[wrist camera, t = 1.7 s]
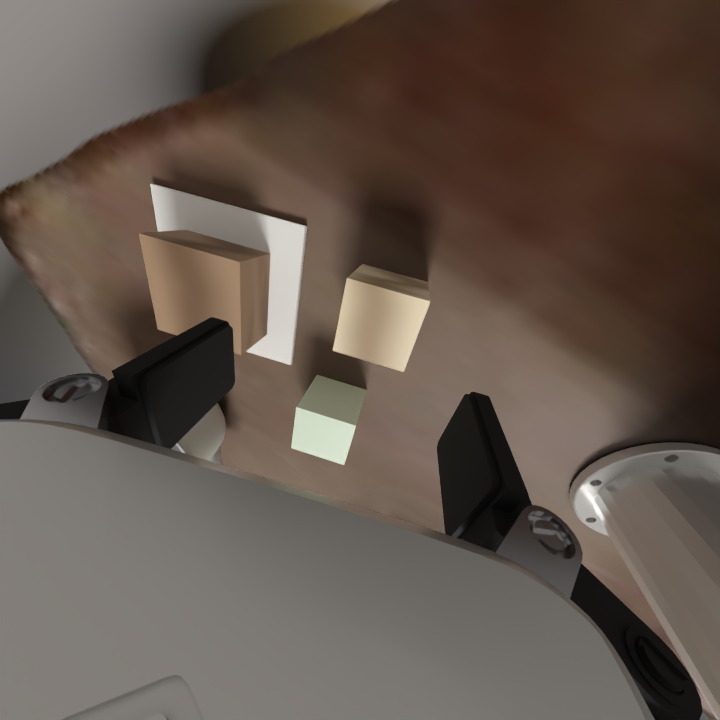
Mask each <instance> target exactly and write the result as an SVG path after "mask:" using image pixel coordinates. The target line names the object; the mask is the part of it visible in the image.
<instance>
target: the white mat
mask: <svg viewBox="0 0 720 720" xmlns="http://www.w3.org/2000/svg"><path fill="white" fill-rule="evenodd" d="M150 186H151V192H152V198H153V204H154V211H155V217H156V223H157V229H158V232H161V231H174V230H189V231H192V232H196V233H199V234H203V235H206V236H210V237H214V238H217V239H221V240H224V241H228V242H231V243H235V244H238V245H242V246H245V247H249V248H252V249H256V250H260V251H263V252H267V253H270V276H269V299H268V323H267V335H266V336H264V337H263V338H262V339H261V340H259V341H258V342H257V343H256V344H254V345H253V346H252V347H251V348H249V349H248V350H247V351H246V352H249V353H253V354H256V355H259V356H262V357H266V358H269V359H272V360H275V361H279V362H282V363H285V364H289V365H291V364H292V363H293V355H294V346H295V336H296V327H297V318H298V308H299V299H300V289H301V280H302V271H303V261H304V252H305V243H306V233H307V226H305V225H302V224H298V223H294V222H291V221H287V220H283V219H280V218H276V217H272V216H269V215H265V214H262V213H258V212H254V211H251V210H247V209H243V208H240V207H236V206H232V205H229V204H225V203H221V202H218V201H214V200H211V199H207V198H203V197H200V196H196V195H192V194H189V193H185V192H181V191H178V190H174V189H170V188H167V187H163V186H160V185H156V184H150Z"/></svg>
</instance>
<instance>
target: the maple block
mask: <svg viewBox="0 0 720 720" xmlns="http://www.w3.org/2000/svg"><path fill="white" fill-rule="evenodd" d="M429 304H430V295H429V287H428V282H426V281H422V280H419V279H415V278H412V277H408V276H404V275H401V274H397V273H394V272H390V271H387V270H383V269H379V268H376V267H372V266H369V265H365V264H362V265H361V266H360V267H358V268H357V269H356V270H355V271H354V272H353V273H352V274H351V275H350V276H349V277H347V280H346V285H345V290H344V295H343V301H342V306H341V311H340V316H339V321H338V326H337V331H336V336H335V341H334V346H333V351H335V352H339V353H342V354H345V355H349V356H352V357H355V358H359V359H362V360H365V361H369V362H372V363H375V364H379V365H382V366H385V367H389V368H392V369H395V370H399V371H402V372H404V370H405V367H406V365H407V362H408V359H409V357H410V354H411V351H412V349H413V346H414V343H415V341H416V338H417V336H418V333H419V330H420V328H421V325H422V322H423V320H424V317H425V314H426V312H427V309H428V307H429Z"/></svg>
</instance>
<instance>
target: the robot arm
mask: <svg viewBox="0 0 720 720" xmlns="http://www.w3.org/2000/svg"><path fill="white" fill-rule="evenodd" d="M112 372H113V375H114V378H112V379H111V380H109V381H108V380H107V379H106V378H105V377H104V376H102V375H99V374H94V373H78V374H72V375H66V376H63V377H59V378H56V379H54V380H51V381H49V382H47V383H45V384H44V385H42V386H41V387H39V388H38V389H37V390H36V391H35V393H34V394H33V396H32V398H31V399H29V400H23V401H16V402H10V403H4V404H0V720H709V719H708V718H707V717H706V716H705V714H704V713H703V712H702V705H701V699H700V696H699V694H698V692H697V689H696V687H695V684H694V682H693V681H692V679H691V677H690V675H689V674H688V672H687V670H686V669H685V667H684V666H683V664H682V663H681V662H680V660H679V659H678V658H677V657H676V655H675V654H674V653H673V651H672V650H671V649H670V648H669V647H668V646H667V645H666V644H665V643H664V642H663V641H662V640H661V639H660V638H659V637H658V636H657V635H656V634H655V633H654V632H653V631H652V630H651V629H650V628H649V627H648V626H647V625H646V624H645V623H644V622H643V621H641V620H640V619H639V618H638V617H637V616H636V615H635V614H634V613H633V612H632V611H631V610H630V609H629V608H628V607H627V606H626V605H625V604H624V603H622V602H621V601H620V600H619V599H618V598H617V597H616V596H615V595H614V594H613V593H612V592H611V591H610V590H609V589H608V588H607V587H606V586H605V585H604V584H602V583H601V582H600V581H599V580H598V579H597V578H596V577H595V576H594V575H593V574H592V573H591V572H590V571H589V570H588V569H587V568H586V567H585V566H583V565H582V564H581V562H582V554H583V553H582V549H581V546H580V543H579V541H578V540H577V538H576V536H575V534H574V533H573V532H572V530H571V529H570V528H569V527H568V525H567V524H566V523H564V522H563V521H562V520H561V519H560V518H559V517H558V516H557V515H555V514H554V513H552V512H551V511H549V510H547V509H545V508H543V507H540V506H536V505H532V504H531V501H530V499H529V496H528V492H527V490H526V487H525V485H524V482H523V480H522V477H521V475H520V472H519V470H518V467H517V465H516V462H515V460H514V457H513V455H512V452H511V450H510V447H509V445H508V442H507V440H506V438H505V435H504V433H503V430H502V428H501V425H500V423H499V420H498V418H497V415H496V413H495V410H494V408H493V405H492V403H491V400H490V398H489V396H486V395H483V394H479V393H476V392H471V393H470V394H465V395H464V397H463V399H462V400H461V402H460V404H459V406H458V407H457V409H456V411H455V413H454V415H453V416H452V418H451V420H450V422H449V423H448V425H447V427H446V429H445V431H444V432H443V434H442V436H441V438H440V439H439V441H438V445H437V454H438V464H439V474H440V484H441V494H442V504H443V514H444V525H445V533H446V534H443V533H440V532H437V531H434V530H431V529H428V528H425V527H422V526H419V525H416V524H413V523H410V522H407V521H403V520H400V519H397V518H394V517H391V516H387V515H384V514H381V513H378V512H375V511H371V510H368V509H365V508H362V507H359V506H355V505H352V504H349V503H346V502H343V501H339V500H336V499H333V498H330V497H326V496H323V495H320V494H317V493H313V492H310V491H307V490H304V489H300V488H297V487H294V486H291V485H287V484H284V483H281V482H278V481H274V480H271V479H268V478H265V477H261V476H258V475H255V474H251V473H248V472H245V471H242V470H238V469H235V468H232V467H228V466H225V465H222V464H218V463H215V462H212V461H208V460H205V459H202V458H199V457H195V456H192V455H189V454H185V453H182V452H179V451H175V450H172V448H173V447H174V446H175V445H176V444H177V443H178V442H179V441H180V440H181V439H182V438H183V437H184V436H185V435H186V434H187V433H188V432H189V431H190V430H191V429H192V428H193V427H194V426H195V425H196V424H197V423H198V422H199V421H200V420H201V419H202V418H203V417H204V416H205V415H206V414H207V413H208V412H209V411H210V410H211V409H212V408H213V407H214V406H215V405H216V404H217V403H218V402H219V401H220V400H221V399H222V398H223V397H224V396H225V395H226V394H227V393H228V392H229V391H230V390H231V389H232V387H233V385H234V383H235V370H234V344H233V328H232V327H231V326H230V325H229V323H228V322H227V321H225V320H221V319H218V318H214V317H211V318H209V319H207V320H205V321H203V322H201V323H199V324H197V325H196V326H194V327H192V328H190V329H188V330H186V331H185V332H183V333H181V334H179V335H177V336H175V337H173V338H172V339H170V340H168V341H166V342H164V343H162V344H161V345H159V346H157V347H155V348H153V349H151V350H150V351H148V352H146V353H144V354H142V355H140V356H138V357H137V358H135V359H133V360H131V361H129V362H127V363H126V364H124V365H122V366H120V367H118V368H116V369H114V370H113V371H112ZM569 498H570V501H571V505H572V507H573V509H574V510H575V512H576V514H577V516H578V517H579V519H580V520H581V521H582V522H583V523H584V524H586V525H587V526H588V527H590V528H591V529H593V530H595V531H597V532H600V533H602V534H604V535H607V536H609V537H610V538H611V540H612V542H613V543H614V545H615V547H616V548H617V550H618V552H619V554H620V555H621V557H622V559H623V560H624V562H625V564H626V565H627V567H628V569H629V571H630V572H631V574H632V576H633V577H634V579H635V581H636V582H637V584H638V586H639V588H640V589H641V591H642V593H643V594H644V596H645V598H646V600H647V601H648V603H649V605H650V606H651V608H652V610H653V611H654V613H655V615H656V617H657V618H658V620H659V622H660V623H661V625H662V627H663V628H664V630H665V632H666V634H667V635H668V637H669V639H670V640H671V642H672V644H673V645H674V647H675V649H676V651H677V652H678V654H679V656H680V657H681V659H682V661H683V663H684V664H685V666H686V668H687V669H688V671H689V673H690V674H691V676H692V678H693V680H694V681H695V683H696V685H697V686H698V688H699V690H700V691H701V693H702V695H703V697H704V698H705V700H706V702H707V703H708V705H709V707H710V708H711V710H712V712H713V714H714V715H715V717H716V719H713V720H720V450H719V449H716V448H712V447H709V446H705V445H699V444H692V443H672V442H667V443H654V444H646V445H641V446H635V447H631V448H627V449H624V450H621V451H617V452H614V453H612V454H610V455H607V456H605V457H603V458H601V459H599V460H597V461H596V462H594V463H592V464H591V465H589V466H588V467H587V468H585V469H584V470H583V471H582V472H581V473H580V474H579V475H578V476H577V478H576V479H575V480H574V481H573V484H572V486H571V488H570V496H569Z"/></svg>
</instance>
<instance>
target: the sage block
mask: <svg viewBox="0 0 720 720" xmlns="http://www.w3.org/2000/svg"><path fill="white" fill-rule="evenodd" d="M366 391H367V390H366V389H362V388H359V387H356V386H352V385H349V384H346V383H343V382H339V381H336V380H333V379H330V378H326V377H323V376H320V375H316V377H315V378H314V380H313V382H312V383H311V385H310V386H309V388H308V390H307V391H306V393H305V394H304V396H303V398H302V399H301V401H300V402H299V404H298V405H297V407H296V415H295V422H294V430H293V438H292V445H291V448H293V449H296V450H299V451H302V452H305V453H308V454H311V455H314V456H317V457H320V458H324V459H327V460H330V461H333V462H336V463H339V464H342V465H344V464H345V461H346V457H347V454H348V451H349V448H350V444H351V441H352V438H353V434H354V431H355V428H356V425H357V421H358V418H359V414H360V411H361V408H362V404H363V401H364V397H365V394H366Z"/></svg>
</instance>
